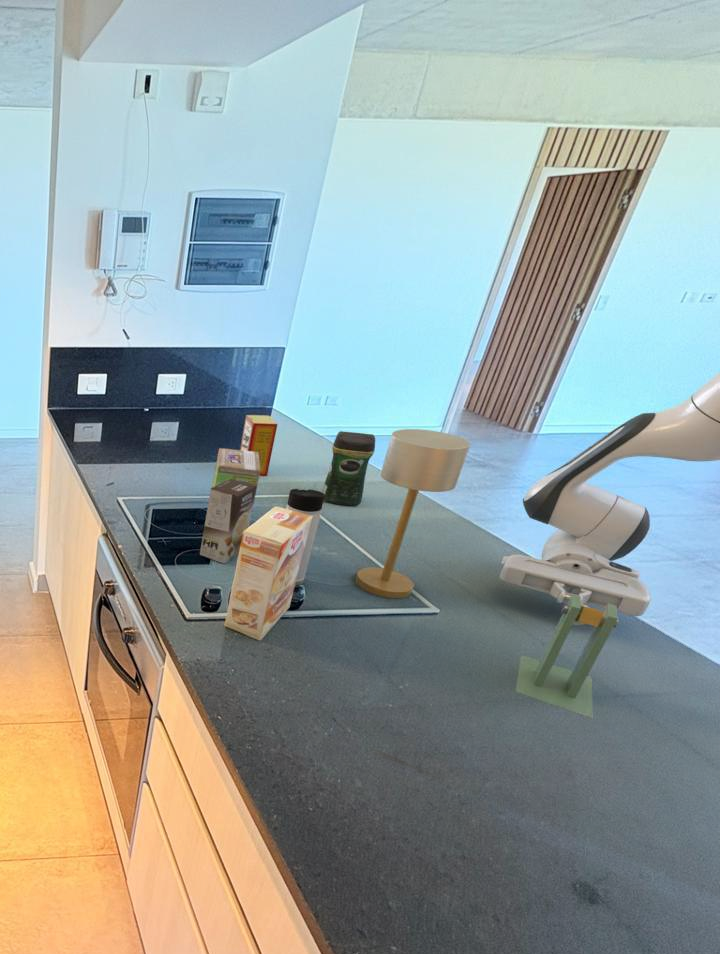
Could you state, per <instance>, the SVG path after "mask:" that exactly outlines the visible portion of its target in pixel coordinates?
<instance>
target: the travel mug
mask: <svg viewBox="0 0 720 954" xmlns="http://www.w3.org/2000/svg"><path fill="white" fill-rule="evenodd" d="M324 497H325V494H324V493H322V491H319V490H316V489H299V488H292V489H290V490H289V494H288V499H287V502H286V506H285V509H288V510H292V511H296V512H300V513H303V514H307V515H310V516H313V518H312V521H311V524H310V528H309V532H308V536H307V540H306V544H305V548H304V551H303V555H302V559H301V563H300V567H299V571H298V575H297V579H296V583H295V585H299V586H301V585H303V584H304V582H305V578H306V574H307V570H308V567H309V562H310V559H311V553H312V550H313V546H314V542H315V538H316V534H317V531H318V528H319V527H318V526H319V523H320V518H321V516H322V515H321V514H322V510H323V504H324V502H325V500H324Z"/></svg>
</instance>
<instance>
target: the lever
mask: <svg viewBox="0 0 720 954" xmlns="http://www.w3.org/2000/svg"><path fill="white" fill-rule="evenodd" d="M603 613H604V610H601V609H597V608H593V607H590V606H589V605H588V604H582V603H581V609H580V611H579V613H578V615H577V617H576V619H575V621H574V623H573V625H574V626H583V625H589V626H591V627H598V625H599V623H600V620H601V618H602V615H603ZM573 625H572V626H573Z"/></svg>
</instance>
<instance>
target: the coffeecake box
mask: <svg viewBox="0 0 720 954" xmlns="http://www.w3.org/2000/svg"><path fill="white" fill-rule="evenodd" d="M312 518H313V516H310V515H307V514H303V513H300V512H296V511H292V510H288V509H286V507H281V506H277V505H275V506H274V507H272V508H270V510H269V511H267V512H266V513H265V514H263V515H262V516H261V517H260V518H258V519H257V520H256V521H254V522H253V523H252V524H250V525H249V527H248V528H247V529H246V530H244V531H243V536H242V541H241V546H240V551H239V555H237V561H236V567H235V571H234V576H233V581H232V584H231V585H232V586H231V589H230V590H231V591H230V596H229V600H228V606H227V610H226V616H225V620H224V628H225V627H226V628H228V629H231V630H232V631H236V632H238V633H240V634H243V635H245V636H247V637H248V638H249V637H250V638H252V639H255V640H257V641H262V640H263V638H264V637H265V636H266V635H267V634H268V633H269V632H270V631H271V629H272V628H273V627H275V625H276V624H277V622H278V621H279V620H280V619H281V618H282V617H283V616H284V614H285V613H286V612H287V611H288V610H289V609H290V607H291V603H292V599H293V595H294V591H295V587H296V586H295V583H296V579H297V575H298V571H299V567H300V563H301V559H302V555H303V551H304V548H305V544H306V540H307V536H308V532H309V528H310V524H311V521H312Z"/></svg>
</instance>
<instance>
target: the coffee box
mask: <svg viewBox="0 0 720 954" xmlns="http://www.w3.org/2000/svg"><path fill="white" fill-rule="evenodd" d="M257 490H258V486H257V485H254V484H250V483H247V482H243V481H237V480H234V479H229V480H227V481H225V482H223V483H221V484H219V485H217V486H215V487H212V486H211V488H210V491H209V497H208V504H207V509H206V515H205V521H204V527H203V533H202V537H201V538H202V539H201V545H200V550H199V555H200V556H201V557H204V558H207V559H210V560H213V561H215V562H218V563H221V564H223V565H225V564H227V563H229V562H230V561H232V560H233V559H235V558H236V557H238V555H239V551H240V546H241V541H242V536H243V531H244V530H246V529H247V528H248V527H249V526H250V525H251V519H252V514H253V509H254V504H255V499H256V495H257Z"/></svg>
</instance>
